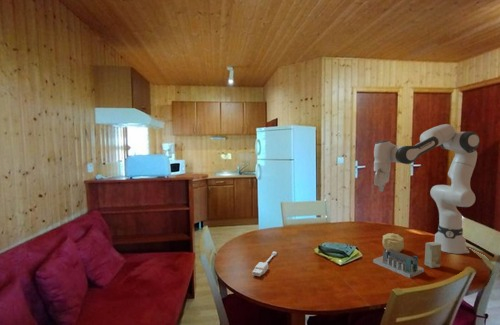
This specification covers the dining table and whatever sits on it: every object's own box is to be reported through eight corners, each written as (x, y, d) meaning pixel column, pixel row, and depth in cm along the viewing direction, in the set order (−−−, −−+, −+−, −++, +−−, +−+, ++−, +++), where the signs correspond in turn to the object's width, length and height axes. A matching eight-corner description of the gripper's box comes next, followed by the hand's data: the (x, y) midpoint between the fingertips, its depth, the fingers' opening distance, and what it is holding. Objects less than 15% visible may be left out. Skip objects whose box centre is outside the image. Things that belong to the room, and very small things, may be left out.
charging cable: (279, 255, 161) (279, 249, 161) (260, 278, 132) (260, 271, 132) (271, 254, 163) (271, 248, 163) (251, 276, 134) (251, 269, 134)
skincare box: (431, 268, 139) (432, 245, 138) (424, 264, 143) (424, 242, 142) (441, 266, 141) (441, 244, 140) (433, 263, 145) (434, 241, 144)
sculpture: (382, 252, 160) (382, 235, 160) (382, 245, 171) (382, 229, 170) (403, 255, 155) (404, 237, 154) (403, 248, 166) (403, 231, 165)
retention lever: (384, 250, 145) (412, 260, 132) (389, 248, 147) (417, 258, 134) (384, 253, 145) (412, 264, 132) (389, 252, 147) (417, 262, 134)
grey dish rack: (373, 262, 147) (373, 248, 146) (386, 257, 153) (387, 244, 152) (409, 278, 129) (410, 262, 129) (423, 272, 135) (424, 256, 135)
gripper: (383, 170, 146) (383, 194, 147) (391, 167, 162) (391, 189, 163) (371, 169, 150) (371, 193, 151) (380, 166, 166) (380, 188, 167)
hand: (381, 191), depth 157 cm, fingers closed
